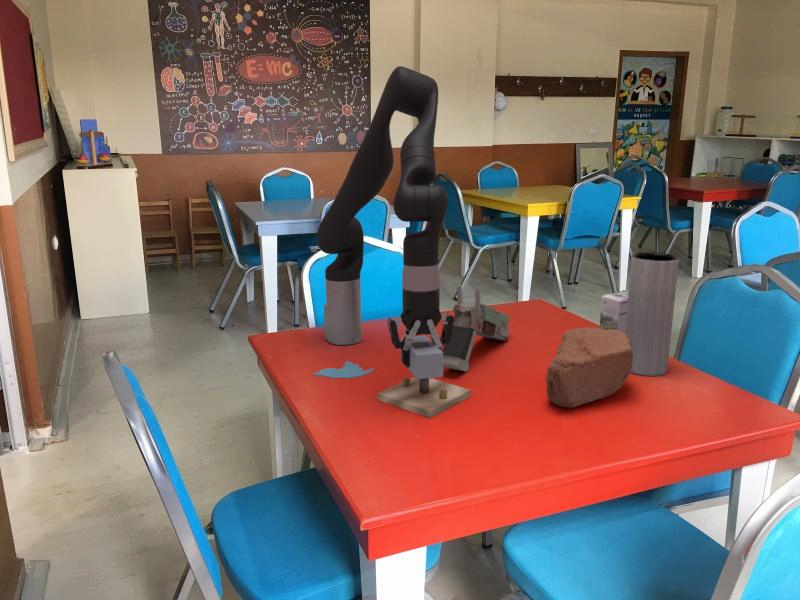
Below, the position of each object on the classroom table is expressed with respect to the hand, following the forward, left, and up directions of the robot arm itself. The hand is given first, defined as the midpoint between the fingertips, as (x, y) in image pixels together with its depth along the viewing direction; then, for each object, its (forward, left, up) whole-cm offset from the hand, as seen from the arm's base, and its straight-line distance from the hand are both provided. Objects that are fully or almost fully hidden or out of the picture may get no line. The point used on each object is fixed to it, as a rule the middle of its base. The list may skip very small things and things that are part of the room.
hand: (421, 364), depth 136 cm
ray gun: (-7, +30, -8) cm, 32 cm away
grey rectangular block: (0, 0, -1) cm, 1 cm away
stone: (+25, +24, -8) cm, 36 cm away
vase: (+29, +48, -8) cm, 57 cm away
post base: (0, +1, -8) cm, 8 cm away
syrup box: (+18, +56, -8) cm, 59 cm away
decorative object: (-24, +1, -8) cm, 25 cm away
